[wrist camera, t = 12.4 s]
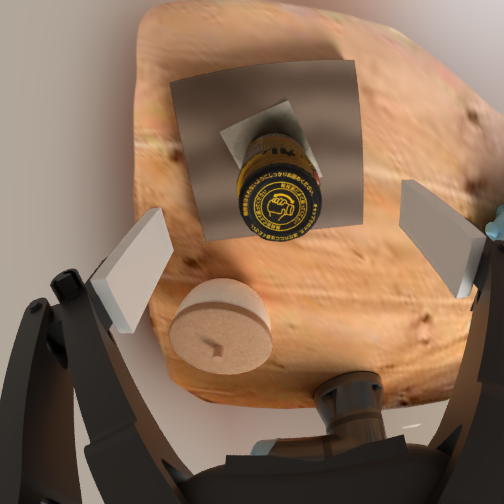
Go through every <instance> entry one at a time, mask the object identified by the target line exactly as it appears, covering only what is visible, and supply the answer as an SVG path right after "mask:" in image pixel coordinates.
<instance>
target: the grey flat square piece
mask: <svg viewBox="0 0 504 504" xmlns="http://www.w3.org/2000/svg"><path fill="white" fill-rule="evenodd" d="M170 88H171V93H172V98H173V103H174V108H175V113H176V118H177V123H178V128H179V132H180V137H181V142H182V146H183V151H184V155H185V160H186V164H187V169H188V173H189V177H190V182H191V186H192V190H193V194H194V198H195V203H196V207H197V211H198V215H199V219H200V223H201V227H202V231H203V235H204V238H205V242H207V241H215V240H223V239H232V238H240V237H249V236H258V235H257V234H256V233H254V232H252V231H251V230H250V229H249V228H248V226H247V225H246V223H245V222H244V220H243V218H242V216H241V215H240V210H239V208H238V207H239V203H238V202H239V201H238V197H237V190H236V189H237V183H236V182H237V179H238V175H239V172H240V169H239V167H238V165H237V163H236V161H235V160H234V158H233V156H232V154H231V152H230V151H229V149H228V147H227V145H226V143H225V141H224V140H223V138H222V136H221V134H220V132H221V131H223V130H224V129H226V128H228V127H231V126H232V125H234V124H237V123H239V122H241V121H243V120H245V119H247V118H249V117H251V116H253V115H256V114H258V113H260V112H262V111H264V110H267V109H269V108H271V107H274V106H276V105H278V104H281V103H283V102H285V101H289V103H290V105H291V107H292V109H293V111H294V113H295V115H296V117H297V120H298V122H299V124H300V126H301V128H302V130H303V132H304V135H305V137H306V139H307V141H308V144H309V146H310V148H311V151H312V153H313V155H314V158H315V160H316V162H317V164H318V167H319V169H320V172H321V174H322V176H323V177H320V178H319V180H320V185H321V195H322V209H321V214H320V216H319V217H318V219H317V221H316V223H315V224H314V226H313V227H312V228H311V229H310V230H312V229H321V228H331V227H341V226H351V225H361V224H363V147H362V129H361V115H360V103H359V93H358V84H357V76H356V68H355V61H354V60H308V61H292V62H280V63H270V64H262V65H254V66H247V67H240V68H234V69H228V70H223V71H217V72H212V73H208V74H203V75H198V76H194V77H190V78H186V79H182V80H178V81H174V82H170ZM248 145H249V144H248Z"/></svg>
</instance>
